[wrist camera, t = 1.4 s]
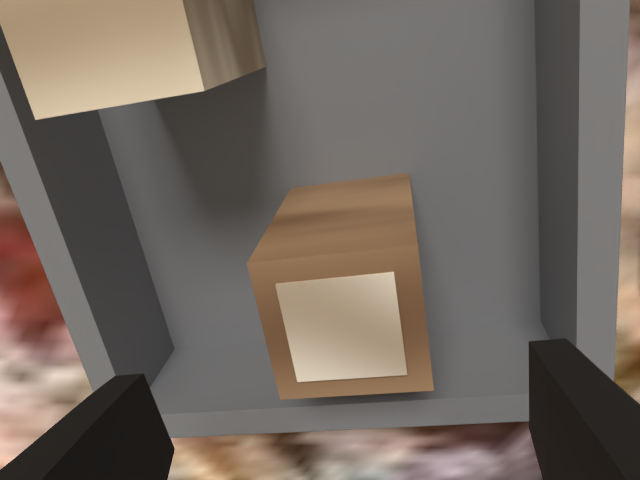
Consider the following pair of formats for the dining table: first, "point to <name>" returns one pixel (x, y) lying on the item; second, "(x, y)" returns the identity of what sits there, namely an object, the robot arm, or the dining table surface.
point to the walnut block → (343, 291)
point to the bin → (336, 166)
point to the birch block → (126, 49)
